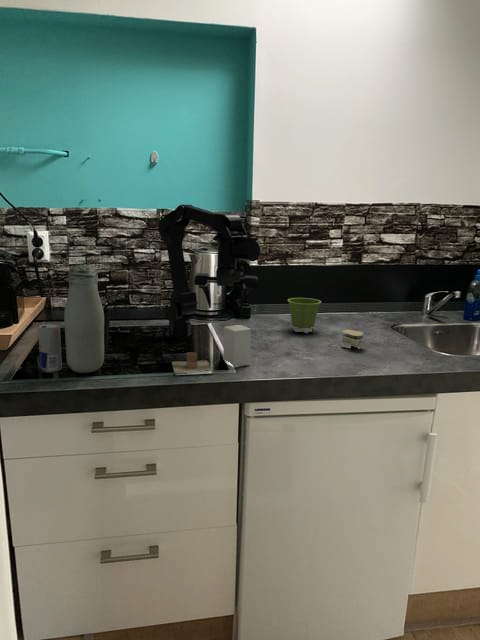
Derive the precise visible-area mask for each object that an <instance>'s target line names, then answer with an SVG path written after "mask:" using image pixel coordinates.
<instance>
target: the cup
mask: <svg viewBox="0 0 480 640" xmlns="http://www.w3.org/2000/svg"><path fill="white" fill-rule="evenodd" d="M103 311H104V353H106V352H108V351H109V350H108V349H109V338H110V336H109V335H110V323H111V322H110V321H111V310H109V309H107V308H103Z"/></svg>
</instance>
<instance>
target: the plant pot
mask: <svg viewBox="0 0 480 640" xmlns="http://www.w3.org/2000/svg"><path fill="white" fill-rule="evenodd" d="M287 302H288V305H289V310H290V317H291V326H292V325H293V326H294V327H298V328H311V327H314V328H315V323H316V318H317V314H318V311H319V309H320V304H322V301H321V300H320V299H316V298H310V297H309V298H308V297H291V298H288V299H287Z"/></svg>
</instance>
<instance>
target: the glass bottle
mask: <svg viewBox="0 0 480 640" xmlns="http://www.w3.org/2000/svg"><path fill="white" fill-rule="evenodd" d="M67 280H68V283H69V284H68V285H69V289H68V293H67V294H68V295H67V298H66V303H65V307H64V311H63V313H64V314H63V319H64V321H63V322H64V338H65V340H64V341H65V351H66V352H65V354H66V364H67V365H68V367H69V368H70V369H71V370H72V371H73V372H74V373H79V374H89V373H93V372H96V371H98V370H99V369H101V367H102V366H103V364H104V362H105V361H104V360H105V352H104V311H103V309H104V308H103V305H102V301H101V297H100V294H99V288H98V283H99V276H98V270H97V269H96V268H95V267H92V265H77V266H75V267H72V268H71V269H69V270H68V278H67Z"/></svg>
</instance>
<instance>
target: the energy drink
mask: <svg viewBox="0 0 480 640" xmlns="http://www.w3.org/2000/svg"><path fill="white" fill-rule="evenodd" d="M37 333H38V346H39V348H38V349H39V363H40V365H39V366H40V370H41V372H42V373H50V374H51V373H56V372H57V373H58V372H60V371H61V370H62V369H63V363H62V362H63V360H62V359H63V358H62V342H61V339H62V338H61V327H60V325H59V324H58V323H43V324H40V325H38V331H37Z"/></svg>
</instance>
